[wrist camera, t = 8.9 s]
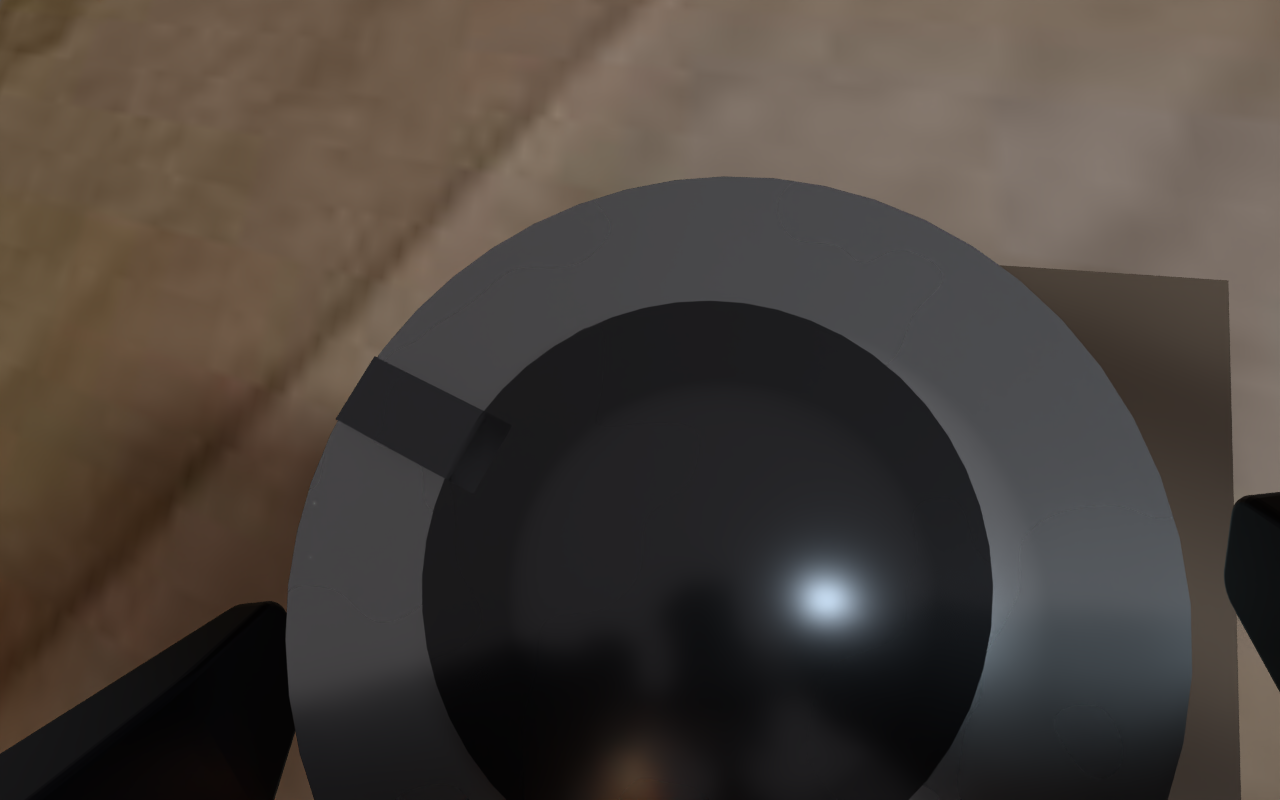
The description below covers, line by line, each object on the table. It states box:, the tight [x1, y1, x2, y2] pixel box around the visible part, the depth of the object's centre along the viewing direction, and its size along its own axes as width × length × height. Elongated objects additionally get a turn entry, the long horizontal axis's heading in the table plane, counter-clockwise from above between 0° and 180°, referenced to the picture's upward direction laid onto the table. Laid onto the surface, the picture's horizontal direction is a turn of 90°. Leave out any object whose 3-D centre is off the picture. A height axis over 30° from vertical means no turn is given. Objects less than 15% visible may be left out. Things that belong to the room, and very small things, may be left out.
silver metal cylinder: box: [285, 177, 1192, 800], centre depth 11 cm, size 6×6×11 cm
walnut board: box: [999, 265, 1241, 800], centre depth 16 cm, size 18×14×2 cm
